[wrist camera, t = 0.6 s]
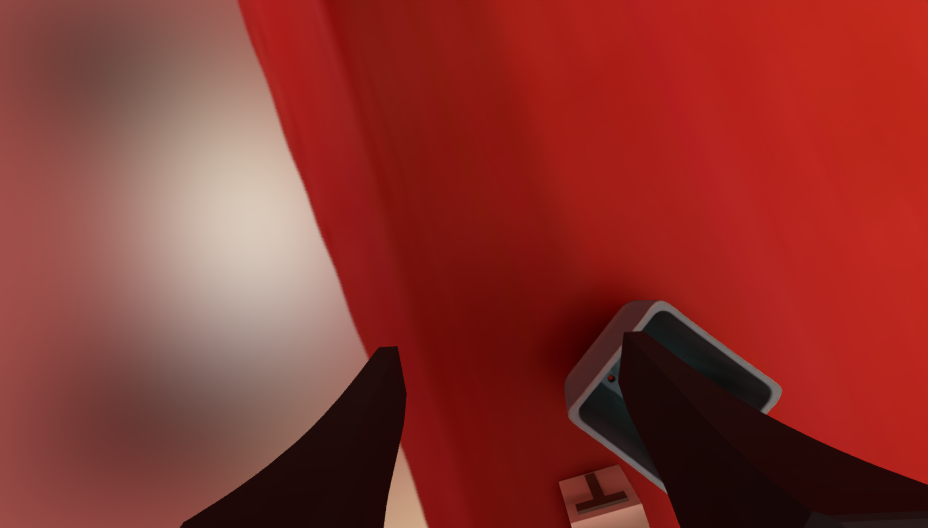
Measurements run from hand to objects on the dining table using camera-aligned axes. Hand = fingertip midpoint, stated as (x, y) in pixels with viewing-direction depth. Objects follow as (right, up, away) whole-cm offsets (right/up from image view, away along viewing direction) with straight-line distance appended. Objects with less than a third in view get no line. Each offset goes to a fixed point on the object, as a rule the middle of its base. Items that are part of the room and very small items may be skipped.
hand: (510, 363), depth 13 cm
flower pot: (+11, -4, +19) cm, 22 cm away
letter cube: (+9, -16, +20) cm, 27 cm away
